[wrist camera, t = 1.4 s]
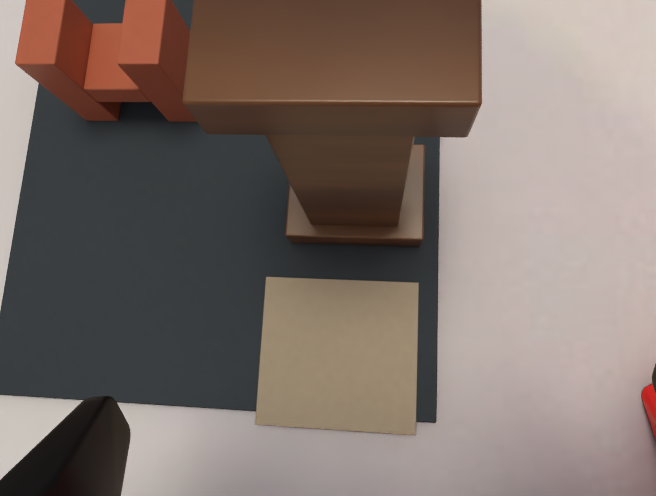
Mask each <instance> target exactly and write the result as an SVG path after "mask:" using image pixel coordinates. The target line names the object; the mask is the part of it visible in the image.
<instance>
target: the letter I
mask: <svg viewBox="0 0 656 496" xmlns="http://www.w3.org/2000/svg"><path fill="white" fill-rule="evenodd" d="M183 104H184V106H185V107H186V108H187V109H188V111H189V112H190V113H191V115H192V116H193V117H194V118H195V120H196V121H197V122H198V123H199V125H200V126H201V127H202V129H203V130H204V131H205V132H206V133H207V134H234V135H266V137H267V139H268V141H269V143H270V145H271V147H272V149H273V151H274V153H275V155H276V157H277V159H278V161H279V163H280V165H281V167H282V169H283V171H284V173H285V175H286V177H287V179H288V181H289V188H288V203H287V218H286V232H285V235H286V237H287V238H288V239H289V240H290V242H291V243H307V244H338V245H368V246H399V247H420V246H421V243H422V241H423V235H424V177H425V145H423V144H413V143H414V137H467V136H468V134H469V132H470V129H471V127H472V125H473V123H474V120H475V118H476V116H477V113H478V111H479V109H480V106H481V104H482V16H481V0H194V2H193V11H192V20H191V29H190V38H189V47H188V56H187V65H186V74H185V83H184V92H183Z"/></svg>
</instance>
